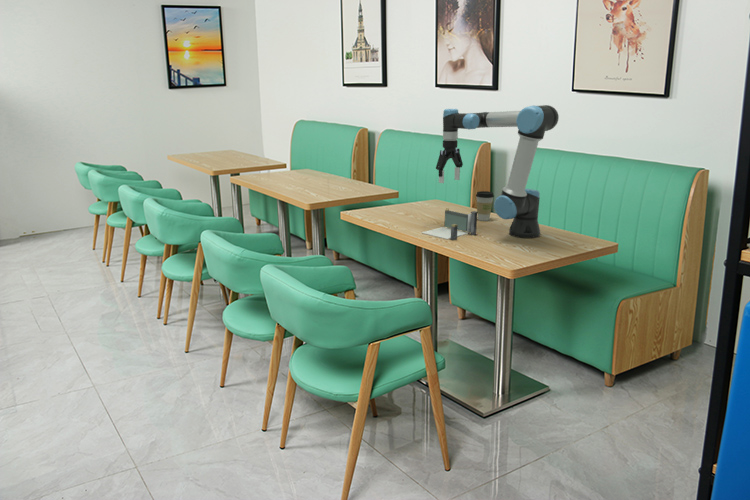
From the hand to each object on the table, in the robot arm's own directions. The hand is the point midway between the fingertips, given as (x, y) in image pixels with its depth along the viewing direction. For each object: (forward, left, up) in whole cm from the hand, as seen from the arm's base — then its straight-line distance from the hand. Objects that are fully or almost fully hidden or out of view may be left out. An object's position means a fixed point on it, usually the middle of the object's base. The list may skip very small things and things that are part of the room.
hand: (449, 181), depth 322 cm
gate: (-12, +6, -22) cm, 26 cm away
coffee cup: (-5, -25, -24) cm, 35 cm away
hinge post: (-21, +6, -23) cm, 32 cm away
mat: (-10, +14, -23) cm, 29 cm away
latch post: (-21, +20, -23) cm, 37 cm away
